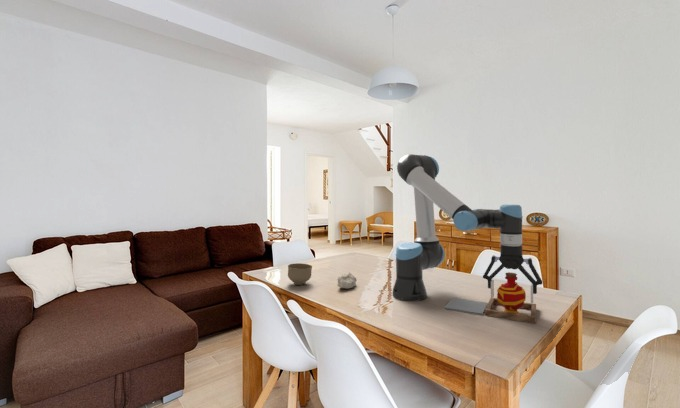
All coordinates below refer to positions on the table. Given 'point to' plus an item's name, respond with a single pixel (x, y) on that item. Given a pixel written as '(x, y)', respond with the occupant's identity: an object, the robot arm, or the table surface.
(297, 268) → the bowl
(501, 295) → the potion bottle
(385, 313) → the table surface
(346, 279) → the stone
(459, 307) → the coaster
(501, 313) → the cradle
